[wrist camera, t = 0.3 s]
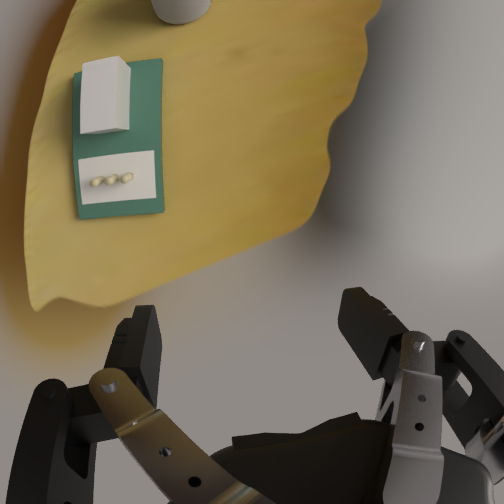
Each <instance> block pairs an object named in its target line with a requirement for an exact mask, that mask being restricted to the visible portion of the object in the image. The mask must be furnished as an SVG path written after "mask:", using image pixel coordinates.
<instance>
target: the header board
mask: <svg viewBox="0 0 504 504" xmlns="http://www.w3.org/2000/svg"><path fill="white" fill-rule="evenodd" d="M126 64H127V65H128V66H129V67H130V68H131V76H130V105H129V130H124V131H116V132H109V133H102V134H80V102H81V81H82V72H78V73H74V81H73V101H72V143H73V163H74V177H75V187H76V197H77V205H78V213H79V220H80V219H91V218H101V217H113V216H125V215H138V214H152V213H164V211H165V205H164V188H163V166H162V77H163V60H162V58H160V59H150V60H142V61H135V62H128V63H126Z"/></svg>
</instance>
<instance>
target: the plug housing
mask: <svg viewBox="0 0 504 504" xmlns="http://www.w3.org/2000/svg"><path fill="white" fill-rule="evenodd" d="M130 76H131V68H130V67H129V66H128V65H127V64H126V63H125V62H124V61H123V60H122V59H121V58H120V57H119V56H115V57H110V58H104V59H100V60H95V61H90V62H86V63H83V68H82V81H81V102H80V134H102V133H109V132H116V131H124V130H129V105H130Z"/></svg>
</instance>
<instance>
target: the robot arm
mask: <svg viewBox="0 0 504 504" xmlns="http://www.w3.org/2000/svg"><path fill="white" fill-rule="evenodd" d="M338 326H339V329H340V331H341V333H342V334H343V336H344V337H345V339H346V340H347V342H348V343H349V345H350V346H351V348H352V349H353V351H354V352H355V354H356V355H357V357H358V358H359V360H360V361H361V363H362V365H363V366H364V368H365V369H366V371H367V372H368V374H369V375H370V376H371V378H372V380H376V379H379V378H384V379H385V381H384V383H383V386H382V391H381V396H380V401H379V406H378V410H377V414H376V418H375V420H364V419H363V420H361V419H360V417H359V415H358V413H357V412H355V413H351V414H348V415H345V416H341V417H337V418H334V419H330V420H328V421H326V422H324V423H322V424H320V425H318V426H316V427H314V428H312V429H310V430H307V431H305V432H303V433H300V434H299V433H298V434H289V433H260V434H252V435H244V436H235V437H232V446H229V447H226V448H223V449H221V450H219V451H217V452H215V453H214V454H212V455H211V456H208V455H207V454H206V453H205V452H204V451H203V450H202V449H200V448H199V447H198V446H197V445H196V444H195V443H194V442H193V441H192V440H191V439H190V438H189V437H188V436H187V435H186V434H185V433H184V432H183V431H182V430H181V429H180V428H179V427H178V426H177V425H176V424H175V423H174V422H173V421H172V420H171V419H170V418H169V417H168V416H167V415H166V414H165V413H164V412H163V411H162V410H160V409H158V410H156V407H157V394H158V381H159V372H160V361H161V352H162V339H161V333H160V329H159V324H158V319H157V314H156V310H155V306H154V305H138V306H135V309H134V313H133V316H132V318H124V319H123V320H122V321H121V322H120V324H119V325H118V326H117V328H116V331H115V334H114V335H115V336H114V337H113V340H112V344H111V346H110V349H109V352H108V355H107V359H106V362H105V365H104V369H102V370H100V371H98V372H96V373H95V374H94V375H93V376H92V377H91V379H90V381H89V384H87V385H83V386H78V387H73V388H67V387H66V385H65V384H64V382H62V381H61V380H59V379H48V380H45V381H43V382H41V383H40V384H39V385H38V386H37V387H36V388H35V390H34V392H33V395H32V398H31V401H30V403H29V406H28V409H27V413H26V415H25V419H24V422H23V425H22V429H21V432H20V436H19V439H18V443H17V447H16V451H15V455H14V460H13V464H12V468H11V473H10V479H9V485H8V490H7V497H6V504H93V490H94V472H95V459H96V448H97V442H100V441H106V440H111V439H115V438H119V439H120V441H121V442H122V443H123V445H124V446H125V448H126V449H127V450H128V452H129V453H130V454H131V456H132V457H133V458H134V460H135V461H136V462H137V463H138V465H139V466H140V467H141V468H142V470H143V471H144V472H145V473H146V474H147V476H148V477H149V478H150V479H151V480H152V482H153V483H154V484H155V485H156V486H157V487H158V489H159V490H160V491H161V492H162V493H163V494H164V495H165V496H166V497H167V498H168V499H169V501H170V502H169V503H168V504H495V503H494V495H493V485H495V484H497V483H499V482H500V481H502V480H503V479H504V371H503V370H502V369H501V368H500V366H499V365H498V364H497V363H496V362H495V361H494V360H493V359H492V358H491V356H489V354H488V353H487V352H486V351H485V350H484V349H483V348H482V347H481V346H480V345H479V344H478V343H477V342H476V341H475V340H474V339H473V338H472V337H471V336H470V335H469V334H468V333H466V332H464V331H460V330H454V331H451V332H450V333H449V334H448V336H447V338H446V341H433V340H432V339H431V338H430V337H429V336H428V335H427V334H425V333H422V332H420V331H409V330H408V329H407V328H406V327H405V326H404V325H403V324H402V322H400V320H399V319H398V318H397V317H396V316H395V315H393V314H392V312H391V311H390V310H389V309H388V308H387V307H386V306H385V305H384V304H383V303H382V302H381V301H380V300H378V299H376V298H374V297H373V296H370V295H369V294H368V293H367V292H366V291H365V290H364V289H363V288H362V287H356V288H348V289H345V290H344V291H343V294H342V300H341V305H340V310H339V315H338ZM461 372H462V373H463V374H464V375H465V376H466V378H467V379H468V380H469V381H470V383H471V385H472V393H471V395H470V397H469V396H468V395H467V393H466V392H465V391H464V389H463V388H462V387H461V386H460V384H459V383H458V382H457V378H458V376H459V375H460V373H461ZM442 414H443V415H444V417H445V418H446V420H447V421H448V423H449V424H450V426H451V427H452V429H453V430H454V432H455V434H456V436H457V437H458V439H459V440H460V442H461V444H462V445H463V447H464V449H465V455H466V456H465V455H462V454H459V453H457V452H454V451H452V450H449V449H446V448H444V447H441V432H442Z"/></svg>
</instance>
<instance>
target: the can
mask: <svg viewBox="0 0 504 504" xmlns="http://www.w3.org/2000/svg"><path fill="white" fill-rule="evenodd" d="M151 2H152V5H153V8H154V11H155V13H156V15H157V16H158V17H159V18H160V19H161V20H163V21H165V22H167V23H171V24H185V23H189V22H193V21H195V20H197V19H199V18H200V17H202V16H203V15H204V14H205V13H206V12H207V10H208V9H209V7H210V3H211V0H151Z"/></svg>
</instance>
